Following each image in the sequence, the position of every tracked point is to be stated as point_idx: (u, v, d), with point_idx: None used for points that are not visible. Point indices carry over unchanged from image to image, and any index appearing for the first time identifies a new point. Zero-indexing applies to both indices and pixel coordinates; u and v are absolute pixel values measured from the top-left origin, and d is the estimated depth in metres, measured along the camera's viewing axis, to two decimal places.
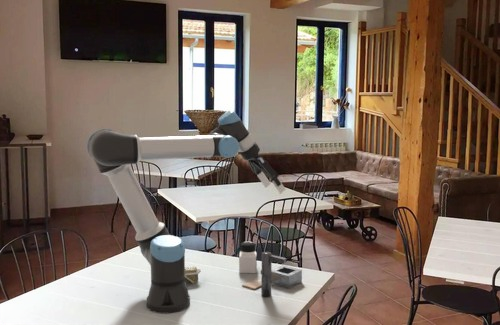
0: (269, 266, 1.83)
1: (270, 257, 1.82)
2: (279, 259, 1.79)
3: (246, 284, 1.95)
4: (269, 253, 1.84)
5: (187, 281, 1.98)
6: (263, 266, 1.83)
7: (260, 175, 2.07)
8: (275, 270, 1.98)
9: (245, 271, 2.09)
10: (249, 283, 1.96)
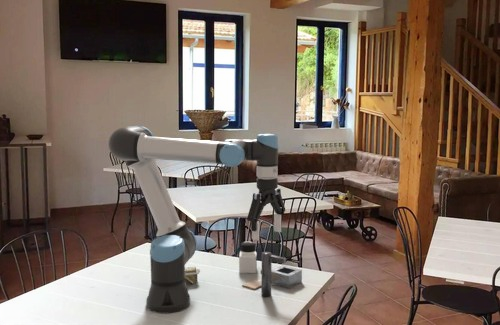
0: (269, 266, 1.83)
1: (270, 257, 1.82)
2: (279, 259, 1.79)
3: (246, 284, 1.95)
4: (269, 253, 1.84)
5: (186, 281, 1.98)
6: (263, 266, 1.83)
7: (276, 216, 1.88)
8: (275, 270, 1.98)
9: (245, 271, 2.09)
10: (249, 283, 1.96)
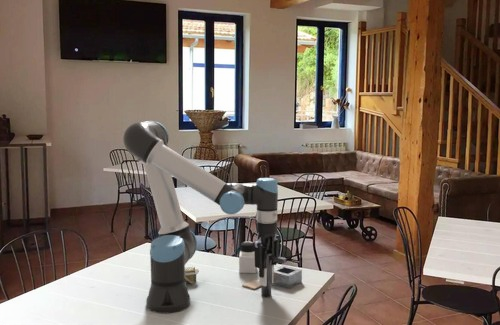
0: (269, 266, 1.83)
1: (270, 257, 1.82)
2: (279, 259, 1.79)
3: (246, 284, 1.95)
4: (269, 253, 1.84)
5: (185, 281, 1.98)
6: None
7: None
8: (275, 270, 1.98)
9: (245, 271, 2.09)
10: (249, 283, 1.96)
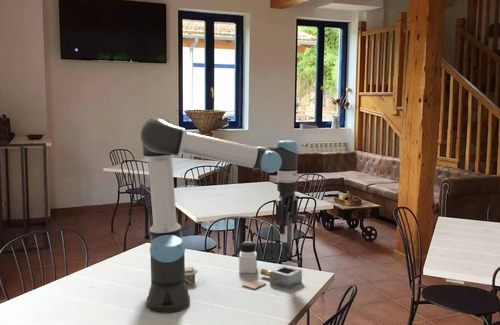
0: (289, 223, 1.94)
1: (290, 215, 1.93)
2: (299, 216, 1.90)
3: (246, 284, 1.95)
4: (289, 211, 1.95)
5: None
6: None
7: None
8: (275, 270, 1.98)
9: (245, 271, 2.09)
10: (249, 283, 1.96)
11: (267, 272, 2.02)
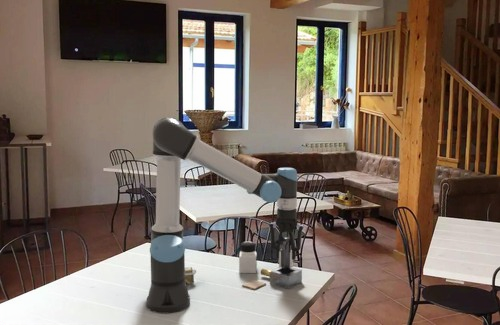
0: (284, 250, 1.95)
1: None
2: None
3: (246, 284, 1.95)
4: (287, 239, 1.95)
5: None
6: None
7: None
8: (275, 270, 1.98)
9: (245, 271, 2.09)
10: (249, 283, 1.96)
11: (267, 272, 2.02)
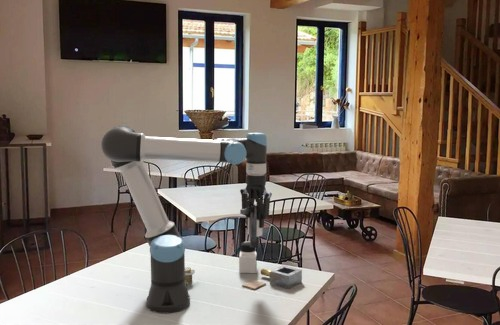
0: (251, 217, 1.91)
1: None
2: None
3: (246, 284, 1.95)
4: (254, 205, 1.91)
5: None
6: None
7: None
8: (275, 270, 1.98)
9: (245, 271, 2.09)
10: (249, 283, 1.96)
11: (267, 272, 2.02)
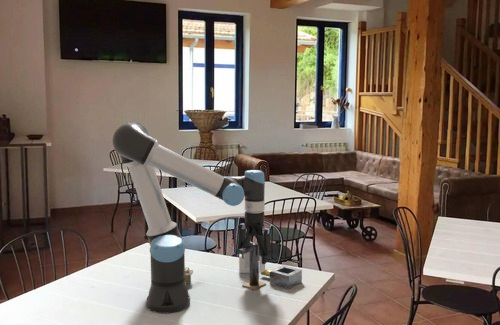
0: (250, 255, 1.93)
1: None
2: None
3: (246, 284, 1.95)
4: (253, 244, 1.92)
5: None
6: None
7: None
8: (275, 270, 1.98)
9: (245, 271, 2.09)
10: None
11: (267, 272, 2.02)
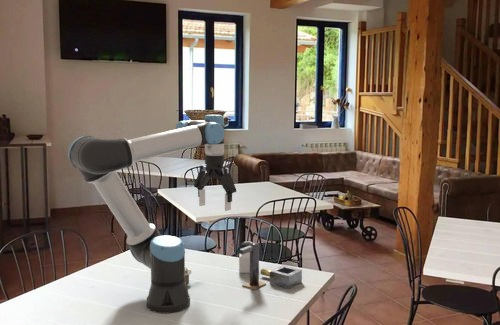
0: (250, 255, 1.93)
1: None
2: None
3: (246, 284, 1.95)
4: (253, 244, 1.92)
5: None
6: None
7: None
8: (275, 270, 1.98)
9: (245, 271, 2.09)
10: None
11: (267, 272, 2.02)
